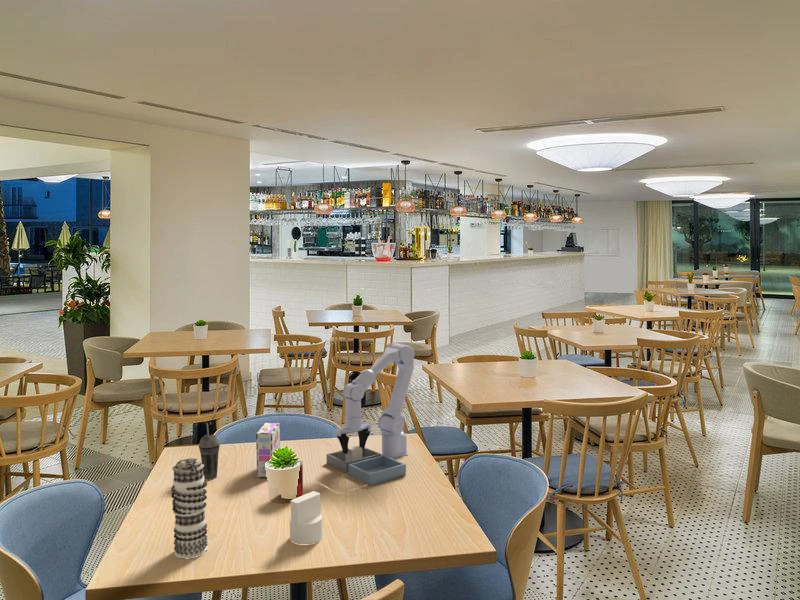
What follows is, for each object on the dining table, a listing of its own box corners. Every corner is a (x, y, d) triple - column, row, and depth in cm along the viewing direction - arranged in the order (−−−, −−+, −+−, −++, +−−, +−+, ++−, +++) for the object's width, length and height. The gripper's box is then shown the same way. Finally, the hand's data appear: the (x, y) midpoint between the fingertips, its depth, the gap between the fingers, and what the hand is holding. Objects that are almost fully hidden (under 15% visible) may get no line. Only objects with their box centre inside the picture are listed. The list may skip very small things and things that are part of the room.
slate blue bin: (383, 465, 237) (383, 455, 237) (405, 475, 227) (405, 464, 227) (348, 475, 227) (348, 464, 227) (369, 485, 217) (369, 474, 217)
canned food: (274, 497, 208) (273, 464, 207) (289, 489, 215) (288, 457, 214) (292, 501, 204) (292, 468, 203) (307, 493, 211) (307, 461, 210)
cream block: (355, 460, 242) (355, 445, 241) (362, 463, 238) (362, 447, 238) (345, 462, 239) (345, 447, 238) (352, 466, 235) (352, 450, 235)
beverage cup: (224, 473, 229) (222, 419, 228) (216, 481, 222) (214, 425, 220) (204, 473, 230) (202, 419, 228) (196, 480, 223) (194, 424, 221)
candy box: (272, 478, 225) (272, 432, 223) (256, 478, 225) (255, 432, 224) (281, 464, 239) (280, 422, 237) (265, 464, 239) (264, 422, 237)
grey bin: (361, 455, 249) (361, 445, 248) (381, 464, 239) (381, 454, 238) (326, 464, 239) (326, 454, 238) (346, 474, 229) (345, 463, 228)
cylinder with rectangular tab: (307, 528, 185) (306, 488, 184) (329, 537, 179) (328, 496, 178) (283, 539, 178) (282, 498, 177) (305, 549, 172) (304, 506, 171)
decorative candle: (212, 543, 176) (210, 455, 174) (203, 559, 167) (200, 467, 164) (179, 543, 176) (176, 455, 173) (168, 560, 166) (165, 467, 164)
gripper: (362, 410, 245) (363, 444, 246) (331, 416, 236) (331, 452, 237) (373, 414, 239) (373, 449, 240) (341, 420, 230) (342, 457, 231)
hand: (353, 451), depth 238 cm, fingers open, 7 cm apart
